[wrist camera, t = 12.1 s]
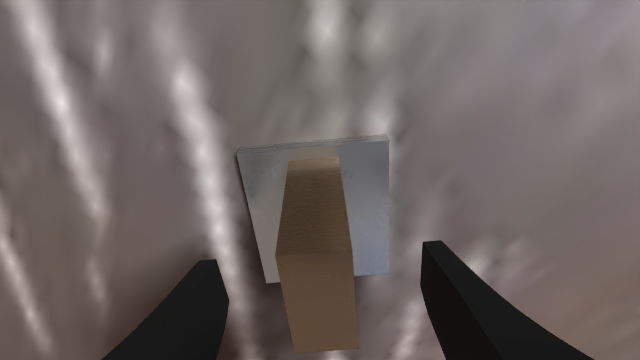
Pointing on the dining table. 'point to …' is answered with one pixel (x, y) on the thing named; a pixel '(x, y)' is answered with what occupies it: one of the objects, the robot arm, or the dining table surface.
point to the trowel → (320, 229)
